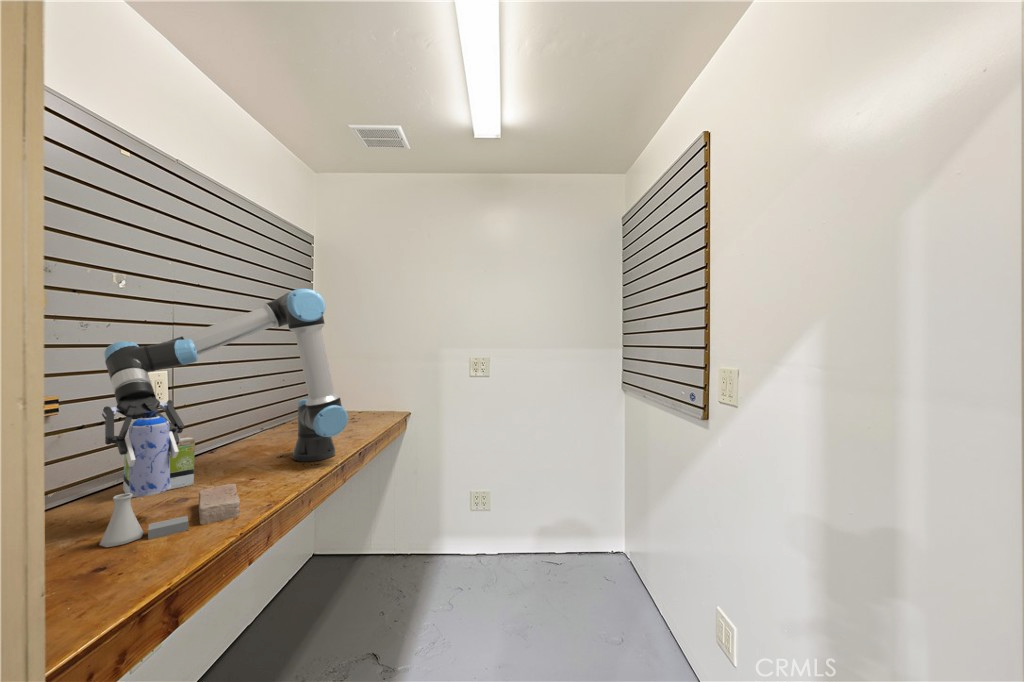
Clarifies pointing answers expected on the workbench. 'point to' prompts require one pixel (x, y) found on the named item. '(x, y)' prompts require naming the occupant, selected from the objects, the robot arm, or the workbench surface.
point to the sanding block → (167, 527)
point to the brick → (218, 503)
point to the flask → (122, 523)
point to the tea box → (173, 465)
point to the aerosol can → (150, 455)
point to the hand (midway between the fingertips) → (154, 458)
